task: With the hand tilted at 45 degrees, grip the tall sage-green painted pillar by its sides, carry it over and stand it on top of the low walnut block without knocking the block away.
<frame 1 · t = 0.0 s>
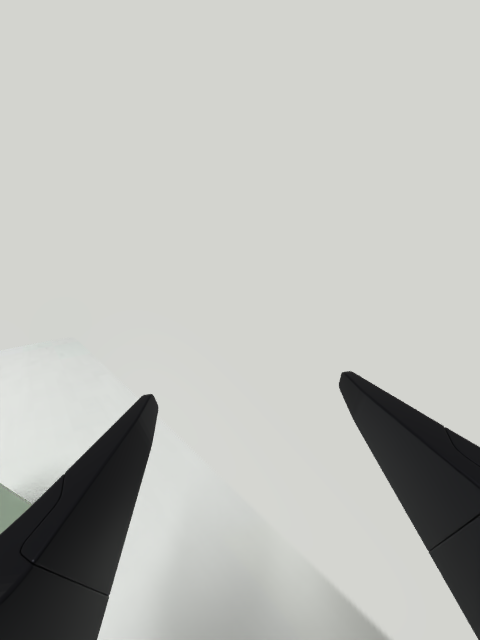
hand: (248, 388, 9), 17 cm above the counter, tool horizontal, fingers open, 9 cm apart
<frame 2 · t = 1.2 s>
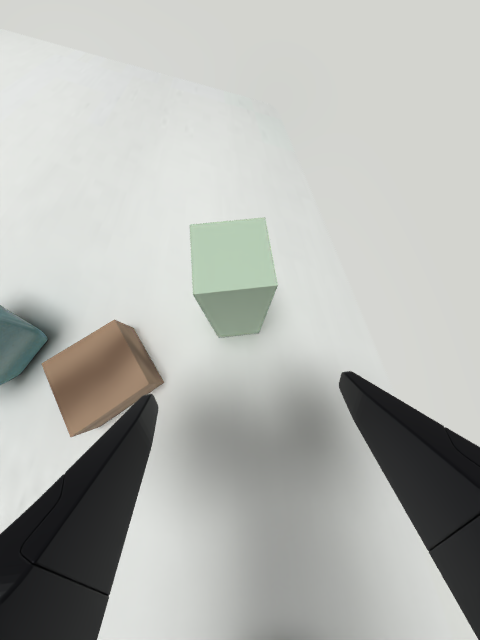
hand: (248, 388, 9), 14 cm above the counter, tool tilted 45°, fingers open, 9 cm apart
walnut block: (119, 374, 23), on the counter
sage pillar: (236, 316, 24), on the counter
flower pot: (21, 347, 24), on the counter
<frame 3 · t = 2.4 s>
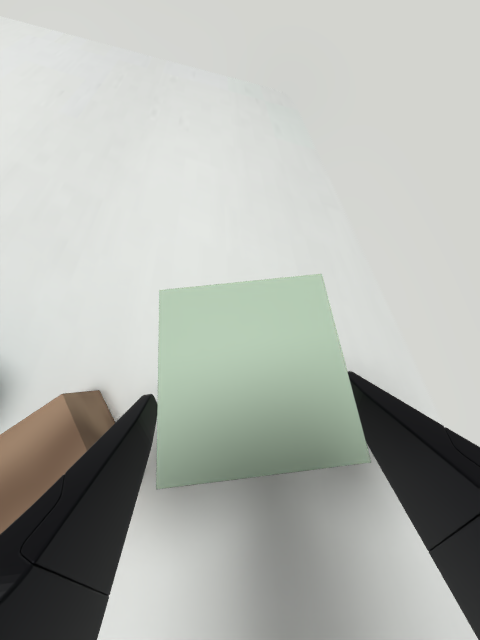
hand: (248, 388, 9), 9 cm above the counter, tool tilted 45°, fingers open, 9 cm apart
walnut block: (77, 461, 16), on the counter
sage pillar: (244, 374, 18), on the counter
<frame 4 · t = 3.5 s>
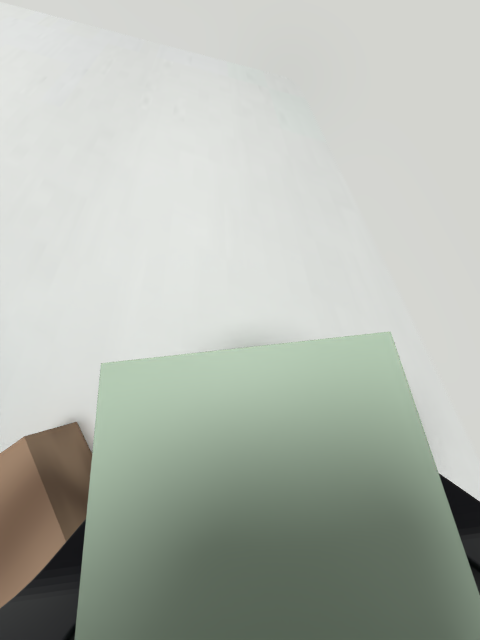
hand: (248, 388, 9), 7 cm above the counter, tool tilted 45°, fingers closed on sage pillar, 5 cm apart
walnut block: (50, 508, 13), on the counter
sage pillar: (247, 402, 15), on the counter, touching gripper
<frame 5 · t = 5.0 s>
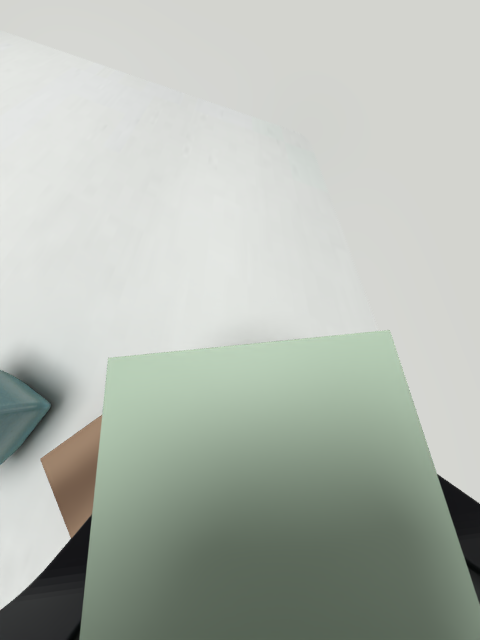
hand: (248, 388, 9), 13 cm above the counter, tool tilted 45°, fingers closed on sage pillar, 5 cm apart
walnut block: (127, 452, 20), on the counter
sage pillar: (250, 401, 15), point 7 cm above the counter, touching gripper
flower pot: (22, 412, 21), on the counter
when the fingers open (12 cm above the counter, at t = 6.7 s): sage pillar drops 1 cm, point 4 cm above the counter.
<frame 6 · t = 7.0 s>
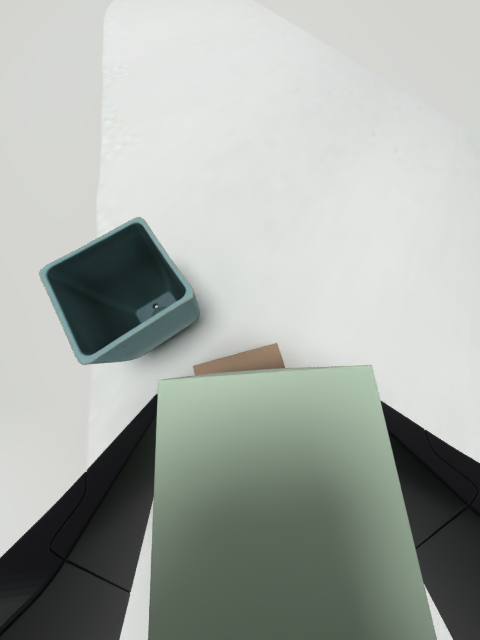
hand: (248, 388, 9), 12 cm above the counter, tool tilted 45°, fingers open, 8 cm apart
walnut block: (246, 394, 20), on the counter
sage pillar: (247, 400, 16), point 4 cm above the counter
flower pot: (163, 317, 23), on the counter
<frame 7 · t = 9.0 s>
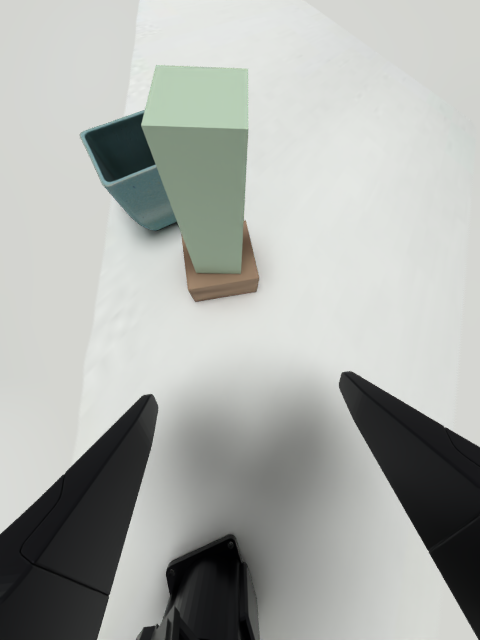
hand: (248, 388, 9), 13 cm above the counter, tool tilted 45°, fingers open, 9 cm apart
walnut block: (221, 270, 26), on the counter, touching sage pillar
sage pillar: (219, 254, 22), point 4 cm above the counter, touching walnut block
flower pot: (164, 214, 29), on the counter
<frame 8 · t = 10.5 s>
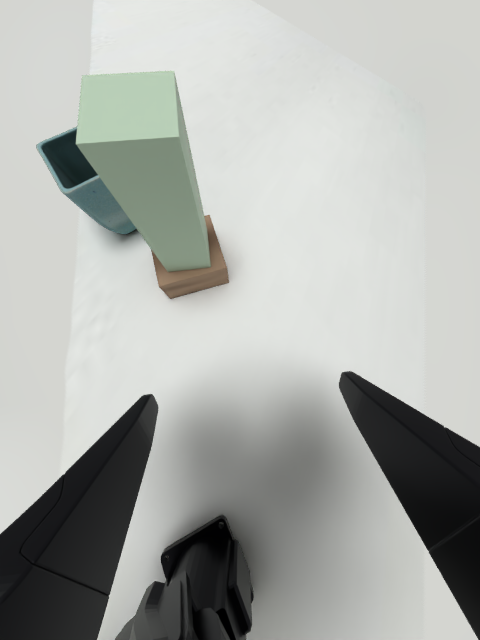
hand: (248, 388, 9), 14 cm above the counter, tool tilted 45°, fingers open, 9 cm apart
walnut block: (193, 266, 27), on the counter
sage pillar: (188, 250, 23), point 4 cm above the counter
flower pot: (133, 217, 29), on the counter
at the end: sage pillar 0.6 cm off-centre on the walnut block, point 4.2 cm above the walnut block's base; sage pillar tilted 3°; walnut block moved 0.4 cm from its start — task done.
